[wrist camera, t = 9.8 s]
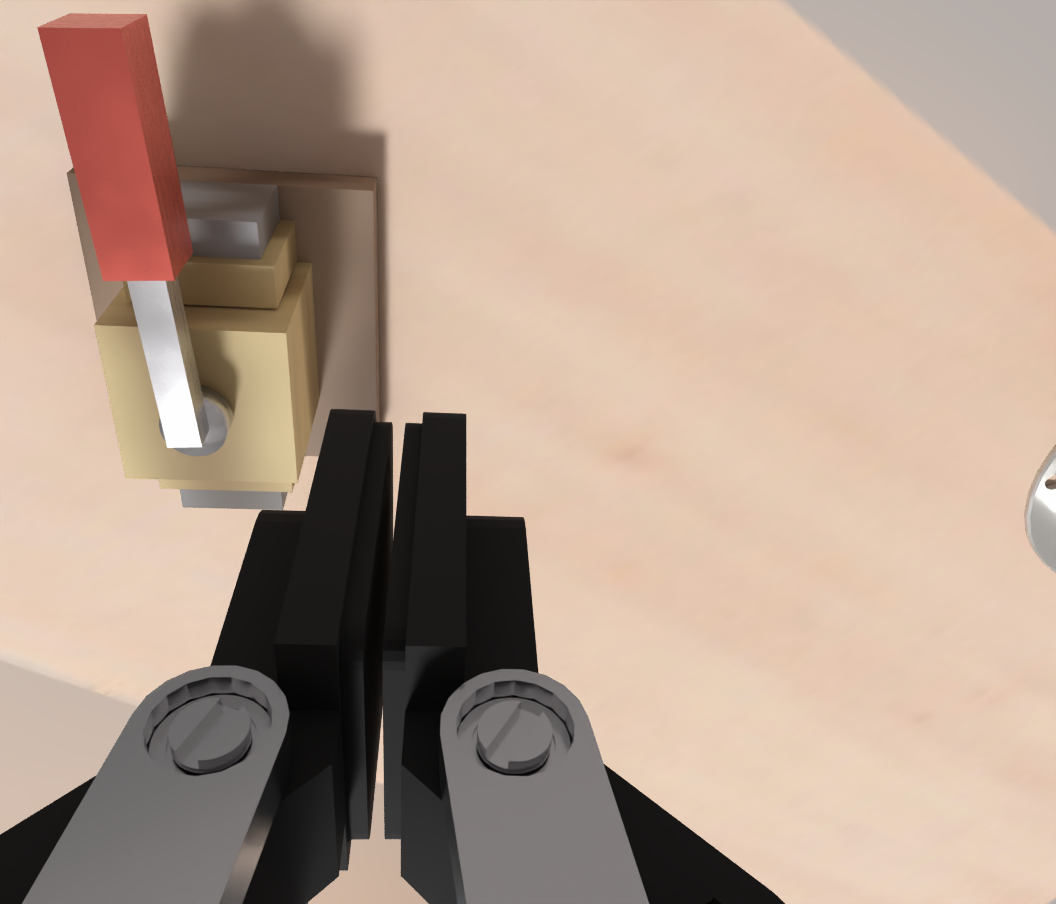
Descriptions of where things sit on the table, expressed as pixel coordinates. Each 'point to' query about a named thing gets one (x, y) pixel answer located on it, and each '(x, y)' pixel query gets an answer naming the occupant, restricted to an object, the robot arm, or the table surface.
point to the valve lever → (134, 203)
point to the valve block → (253, 328)
